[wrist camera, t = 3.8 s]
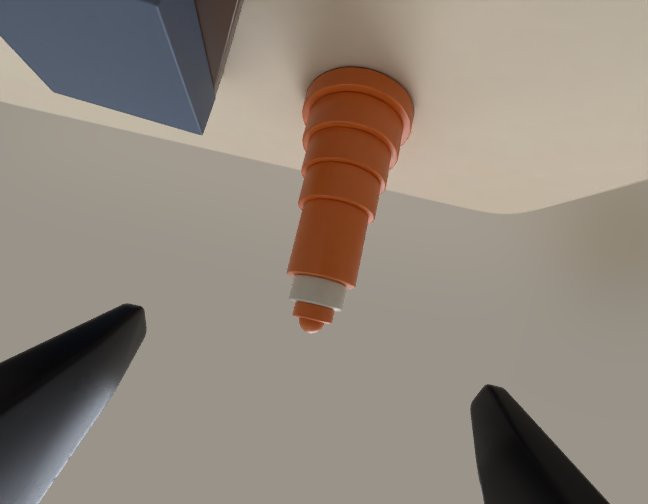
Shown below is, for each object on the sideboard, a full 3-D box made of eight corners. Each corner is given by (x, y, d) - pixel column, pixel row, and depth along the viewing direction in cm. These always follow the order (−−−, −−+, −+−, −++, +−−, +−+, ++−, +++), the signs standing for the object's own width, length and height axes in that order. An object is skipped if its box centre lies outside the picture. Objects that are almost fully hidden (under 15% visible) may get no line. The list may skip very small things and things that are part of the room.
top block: (72, 52, 15) (52, 92, 14) (-75, -148, 8) (-120, -89, 8) (216, 97, 16) (202, 136, 15) (183, -54, 9) (157, 5, 9)
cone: (285, 98, 18) (223, 313, 15) (365, 44, 14) (298, 332, 11) (354, 152, 22) (315, 332, 19) (435, 122, 17) (399, 353, 15)
